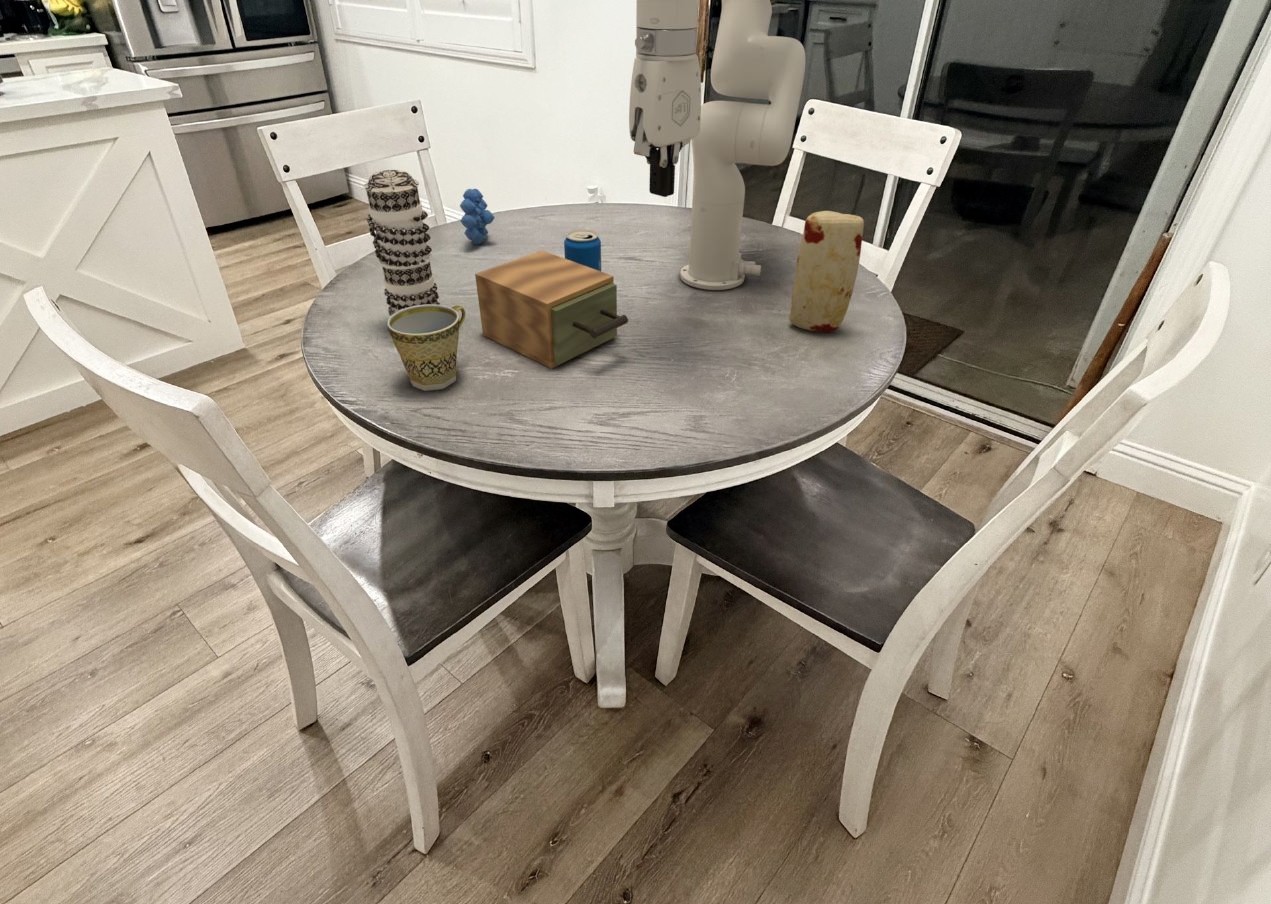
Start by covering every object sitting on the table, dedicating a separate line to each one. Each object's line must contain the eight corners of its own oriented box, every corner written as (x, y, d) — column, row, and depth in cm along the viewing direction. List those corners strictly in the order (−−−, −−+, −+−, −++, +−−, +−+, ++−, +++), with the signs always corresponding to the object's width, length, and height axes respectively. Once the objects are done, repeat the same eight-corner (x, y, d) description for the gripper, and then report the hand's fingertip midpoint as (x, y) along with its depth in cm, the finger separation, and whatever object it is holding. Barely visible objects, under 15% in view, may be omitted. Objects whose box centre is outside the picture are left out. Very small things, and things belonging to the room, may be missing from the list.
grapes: (489, 254, 148) (482, 196, 141) (458, 252, 149) (450, 194, 141) (505, 236, 157) (499, 180, 150) (475, 234, 158) (468, 179, 151)
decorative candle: (427, 309, 126) (401, 162, 111) (455, 326, 121) (432, 174, 106) (380, 325, 121) (346, 173, 106) (407, 343, 115) (376, 186, 101)
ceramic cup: (434, 404, 100) (422, 340, 94) (385, 384, 105) (371, 323, 99) (495, 366, 109) (487, 306, 103) (447, 350, 114) (438, 291, 108)
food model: (786, 333, 119) (804, 215, 108) (788, 317, 125) (805, 202, 113) (845, 339, 118) (869, 220, 106) (844, 322, 123) (868, 207, 111)
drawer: (640, 345, 113) (641, 293, 108) (583, 375, 105) (581, 321, 100) (552, 308, 124) (549, 260, 119) (494, 333, 116) (488, 282, 111)
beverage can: (597, 307, 127) (595, 242, 120) (562, 304, 128) (559, 239, 121) (605, 293, 132) (604, 230, 125) (572, 290, 133) (569, 227, 126)
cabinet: (614, 337, 118) (613, 276, 111) (551, 368, 109) (547, 303, 103) (545, 308, 127) (541, 250, 120) (482, 335, 118) (474, 273, 112)
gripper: (650, 52, 82) (647, 212, 92) (725, 42, 91) (714, 188, 101) (603, 46, 86) (605, 200, 96) (679, 37, 95) (674, 178, 105)
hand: (661, 193), depth 99 cm, fingers closed
